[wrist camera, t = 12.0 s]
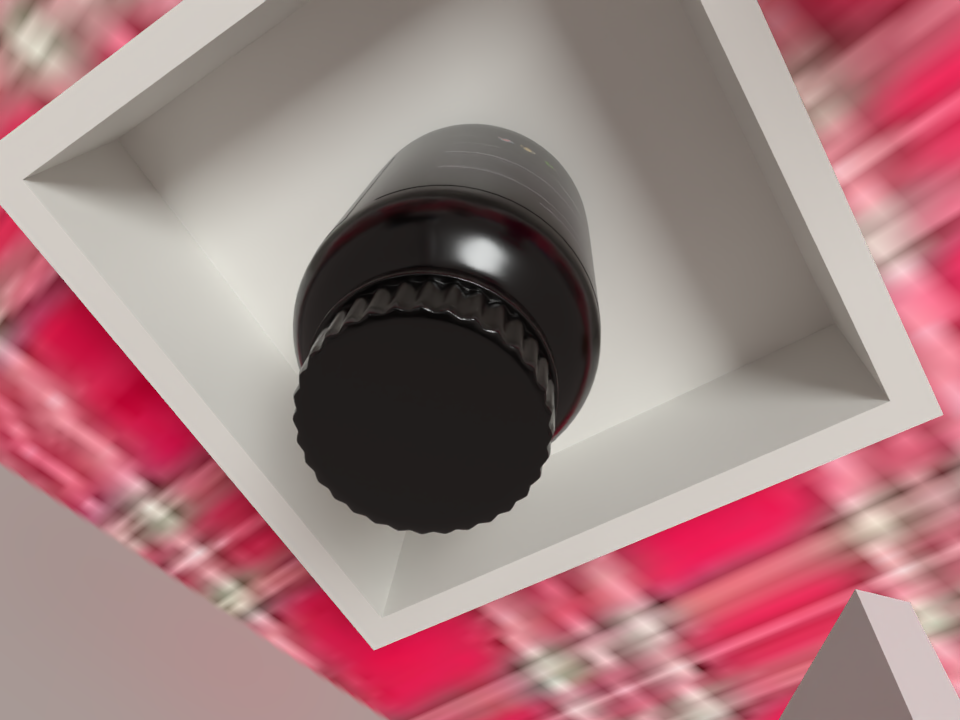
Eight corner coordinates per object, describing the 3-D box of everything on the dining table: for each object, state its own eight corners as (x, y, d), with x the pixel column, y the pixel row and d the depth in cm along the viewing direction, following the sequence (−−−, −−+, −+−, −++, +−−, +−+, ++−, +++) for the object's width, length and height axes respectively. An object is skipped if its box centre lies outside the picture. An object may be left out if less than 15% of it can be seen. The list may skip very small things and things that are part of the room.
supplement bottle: (523, 368, 28) (496, 633, 17) (334, 273, 27) (179, 489, 16) (634, 185, 25) (685, 368, 14) (425, 72, 24) (310, 175, 13)
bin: (89, 121, 27) (-33, 165, 21) (599, -257, 21) (610, -326, 16) (406, 534, 32) (373, 650, 27) (868, 322, 27) (943, 414, 22)
